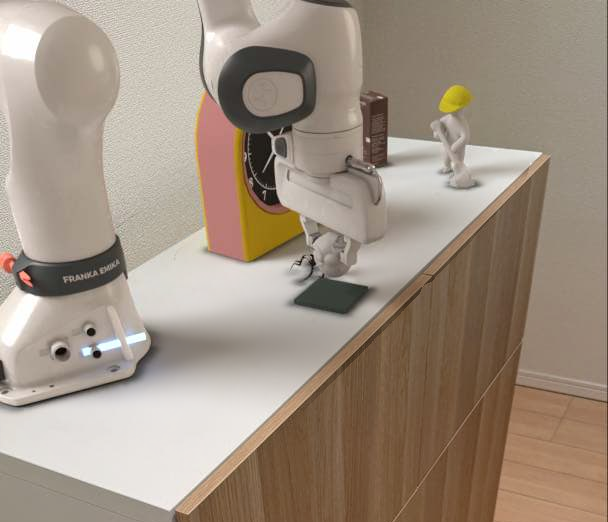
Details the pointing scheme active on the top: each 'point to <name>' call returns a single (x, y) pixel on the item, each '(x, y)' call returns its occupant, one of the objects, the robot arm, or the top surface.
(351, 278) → the top surface
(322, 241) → the white rounded lump
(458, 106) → the figurine
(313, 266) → the creature
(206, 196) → the alarm clock
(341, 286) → the coaster pad
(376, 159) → the box
